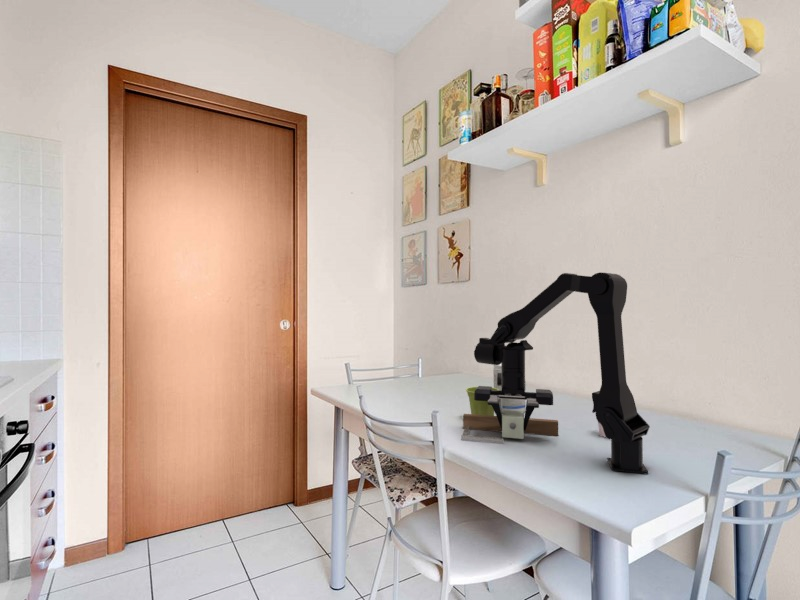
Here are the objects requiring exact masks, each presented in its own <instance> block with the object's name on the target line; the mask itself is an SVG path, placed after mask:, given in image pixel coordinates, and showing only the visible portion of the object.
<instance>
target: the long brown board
mask: <svg viewBox="0 0 800 600" xmlns="http://www.w3.org/2000/svg"><path fill="white" fill-rule="evenodd" d="M466 426H470V430H475V431H477V430H478V431H490V432H501V433H502V429H501V427H500V424H499V421H498V418H497V416H496V415H494V416H491V415H476V414H471V413H463V415H462V429H463V430H465V428H466ZM524 434H526V435H529V434H530V435H541V436H555V437H559V420H558V419H547V418H534V417H533V418H532V417H530V418H529V421H528V424H527V427H526V430H525V431H524Z"/></svg>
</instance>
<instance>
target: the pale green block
mask: <svg viewBox="0 0 800 600" xmlns="http://www.w3.org/2000/svg"><path fill="white" fill-rule="evenodd" d="M524 417H525V411H511V410H504V411H503V413H502V432H501V438H510V439H520V440H523V439H524V435H525V433H524Z"/></svg>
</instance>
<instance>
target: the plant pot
mask: <svg viewBox="0 0 800 600" xmlns="http://www.w3.org/2000/svg"><path fill="white" fill-rule="evenodd" d="M477 387H478V386H470V387H466V389H465V392H467V396H468V400H469V406H470V414H476V415H491V416H495V411H494V409H493V407H492V405H488V404H487V402H488V401H476V400H474V393H475V390H476V388H477ZM492 390H498V389H496V388H494V387H492Z"/></svg>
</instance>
